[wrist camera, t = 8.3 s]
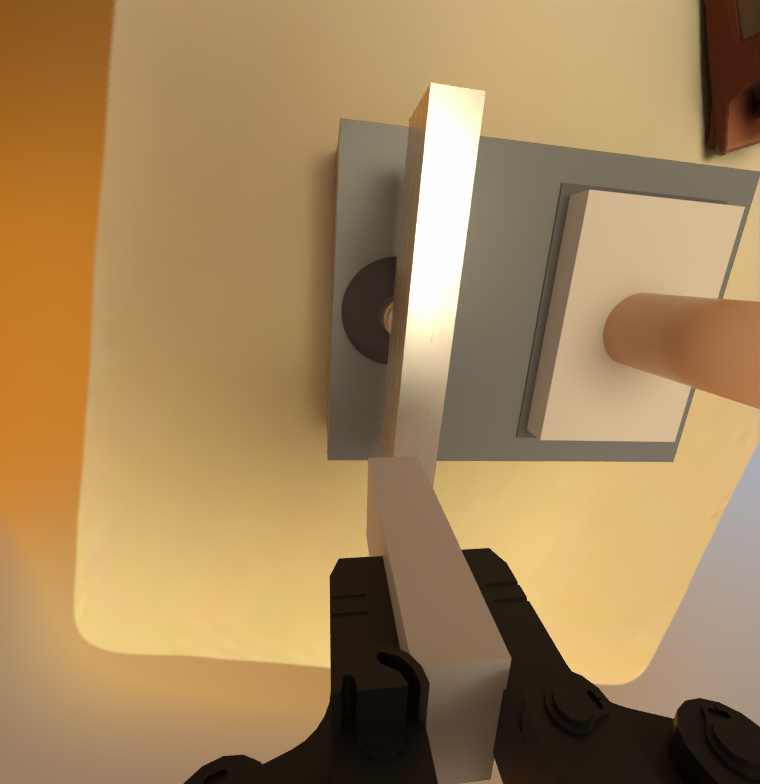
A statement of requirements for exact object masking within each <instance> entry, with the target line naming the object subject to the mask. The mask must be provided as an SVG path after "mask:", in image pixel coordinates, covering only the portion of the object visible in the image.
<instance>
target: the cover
mask: <svg viewBox="0 0 760 784" xmlns="http://www.w3.org/2000/svg"><path fill="white" fill-rule="evenodd" d="M744 209H745V207H742V206H733V205H724V204H715V203H706V202H697V201H688V200H679V199H670V198H661V197H652V196H643V195H634V194H625V193H617V192H608V191H599V190H586V191H583V192H579V193H576V194H572V195H570V199H569V204H568V209H567V215H566V220H565V225H564V231H563V236H562V242H561V247H560V252H559V258H558V263H557V269H556V274H555V279H554V285H553V290H552V296H551V301H550V306H549V312H548V317H547V323H546V328H545V333H544V339H543V344H542V350H541V355H540V360H539V366H538V371H537V376H536V382H535V387H534V393H533V398H532V403H531V409H530V414H529V420H528V425H527V430H528V431H529V432H531V433H532V434H533V435H534V436H536V437H537V438H538V439H539V440H566V441H641V442H675V439H676V436H677V433H678V429H679V426H680V423H681V419H682V416H683V413H684V409H685V406H686V403H687V399H688V396H689V393H690V389H691V387H693V388H697V389H700V390H703V391H706V392H709V393H712V394H715V395H718V396H721V397H724V398H727V399H730V400H733V401H736V402H740V403H743V404H746V405H749V406H752V407H755V408H758V409H760V302H755V301H742V300H729V299H718V296H719V292H720V289H721V286H722V282H723V279H724V275H725V272H726V269H727V265H728V262H729V259H730V255H731V252H732V249H733V245H734V242H735V239H736V235H737V232H738V229H739V225H740V222H741V219H742V215H743V212H744Z"/></svg>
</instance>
